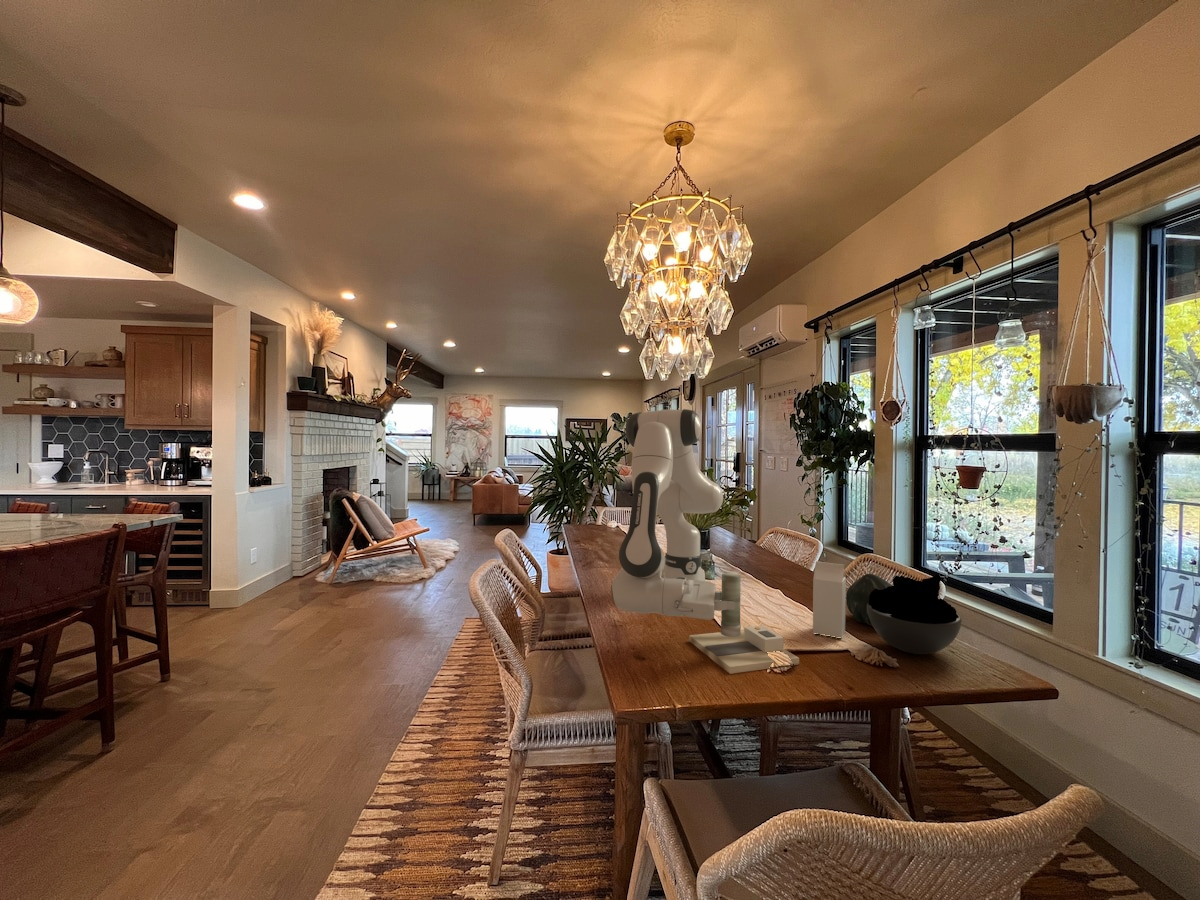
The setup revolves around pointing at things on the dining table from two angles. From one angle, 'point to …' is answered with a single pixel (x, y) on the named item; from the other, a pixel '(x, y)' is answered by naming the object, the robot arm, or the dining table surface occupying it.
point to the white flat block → (735, 652)
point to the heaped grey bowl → (913, 615)
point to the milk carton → (829, 599)
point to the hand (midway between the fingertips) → (734, 601)
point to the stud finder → (763, 638)
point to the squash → (863, 595)
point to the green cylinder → (732, 617)
